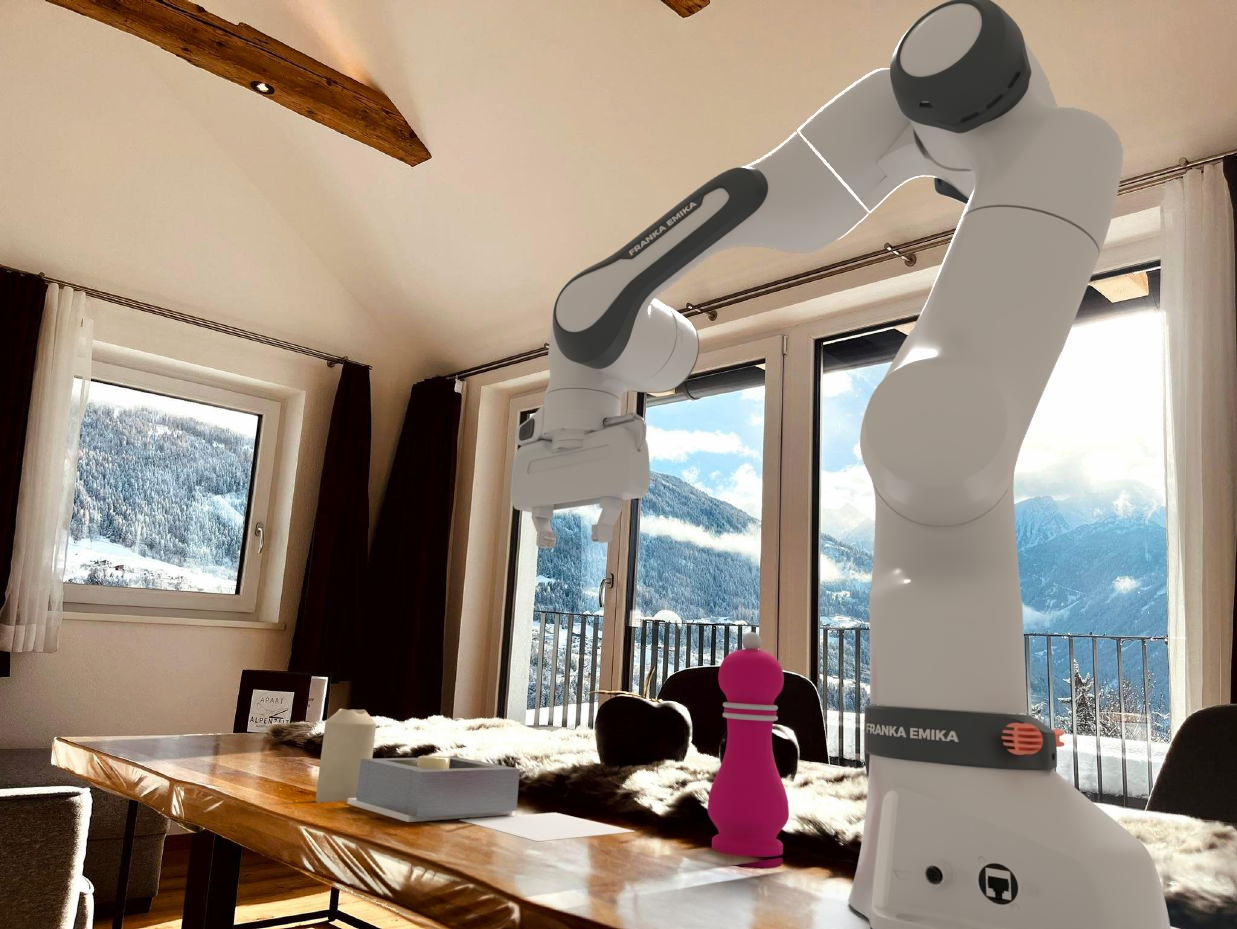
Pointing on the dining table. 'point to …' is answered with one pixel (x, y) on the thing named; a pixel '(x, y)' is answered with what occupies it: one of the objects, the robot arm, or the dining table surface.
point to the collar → (438, 787)
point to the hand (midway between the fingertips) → (572, 544)
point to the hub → (425, 763)
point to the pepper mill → (749, 759)
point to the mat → (547, 826)
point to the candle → (344, 754)
